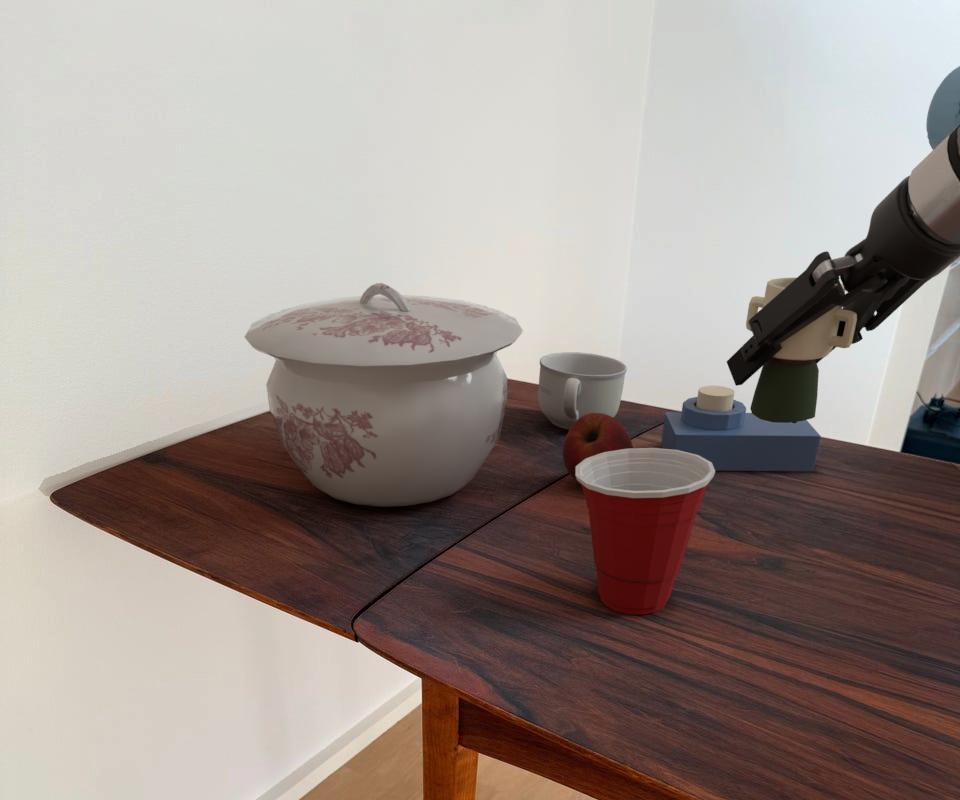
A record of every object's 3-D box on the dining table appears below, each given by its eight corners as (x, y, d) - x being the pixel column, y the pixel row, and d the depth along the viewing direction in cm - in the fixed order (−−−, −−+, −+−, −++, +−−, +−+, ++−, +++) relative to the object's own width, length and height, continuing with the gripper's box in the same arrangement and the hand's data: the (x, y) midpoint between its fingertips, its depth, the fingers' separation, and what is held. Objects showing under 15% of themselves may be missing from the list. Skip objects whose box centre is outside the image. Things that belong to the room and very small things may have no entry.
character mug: (848, 423, 88) (879, 286, 81) (815, 441, 84) (845, 297, 77) (750, 401, 94) (772, 271, 87) (715, 416, 90) (734, 281, 83)
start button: (727, 403, 102) (730, 385, 101) (735, 414, 99) (738, 395, 98) (693, 402, 102) (695, 385, 101) (699, 413, 99) (702, 395, 98)
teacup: (555, 406, 119) (558, 346, 115) (632, 417, 115) (638, 355, 111) (513, 437, 109) (515, 372, 105) (596, 451, 105) (601, 384, 101)
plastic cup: (610, 557, 81) (621, 431, 75) (717, 593, 76) (739, 459, 69) (541, 602, 74) (547, 467, 68) (654, 645, 68) (672, 502, 62)
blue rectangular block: (793, 445, 106) (802, 396, 103) (813, 471, 99) (824, 419, 96) (660, 444, 107) (666, 395, 104) (671, 470, 100) (677, 418, 96)
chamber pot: (506, 545, 83) (510, 318, 72) (228, 529, 86) (191, 309, 75) (528, 444, 107) (534, 261, 96) (309, 434, 110) (290, 256, 99)
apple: (546, 485, 96) (548, 413, 92) (589, 466, 101) (594, 397, 96) (600, 504, 91) (606, 430, 87) (643, 483, 96) (651, 412, 92)
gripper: (864, 260, 64) (697, 415, 85) (1048, 242, 71) (852, 389, 92) (826, 172, 65) (671, 346, 86) (1010, 164, 73) (826, 326, 94)
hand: (765, 368), depth 89 cm, fingers closed on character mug, 7 cm apart
